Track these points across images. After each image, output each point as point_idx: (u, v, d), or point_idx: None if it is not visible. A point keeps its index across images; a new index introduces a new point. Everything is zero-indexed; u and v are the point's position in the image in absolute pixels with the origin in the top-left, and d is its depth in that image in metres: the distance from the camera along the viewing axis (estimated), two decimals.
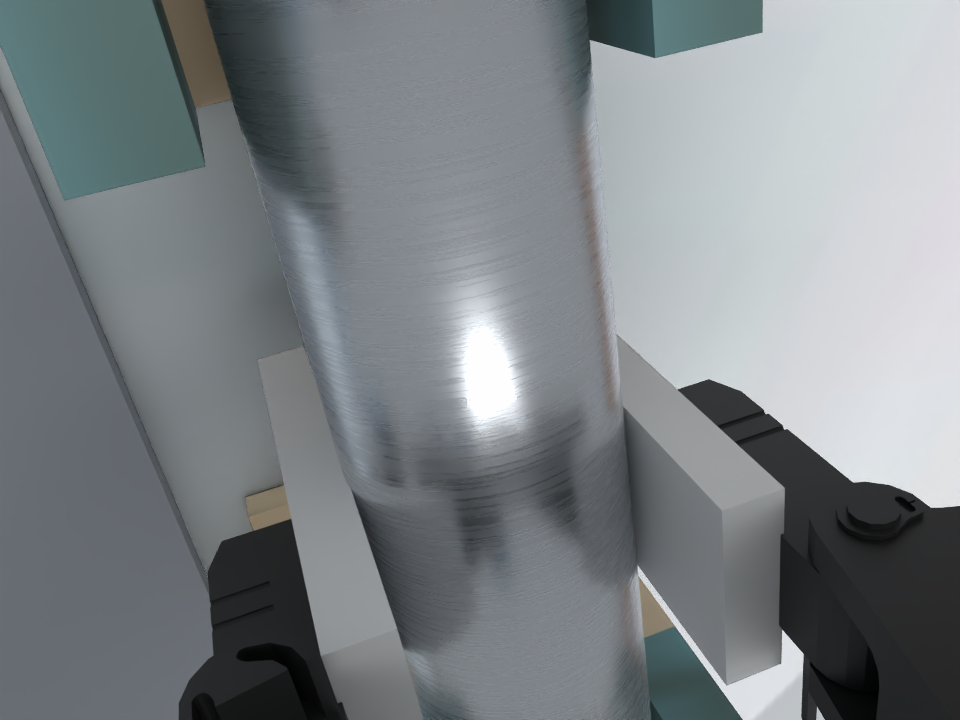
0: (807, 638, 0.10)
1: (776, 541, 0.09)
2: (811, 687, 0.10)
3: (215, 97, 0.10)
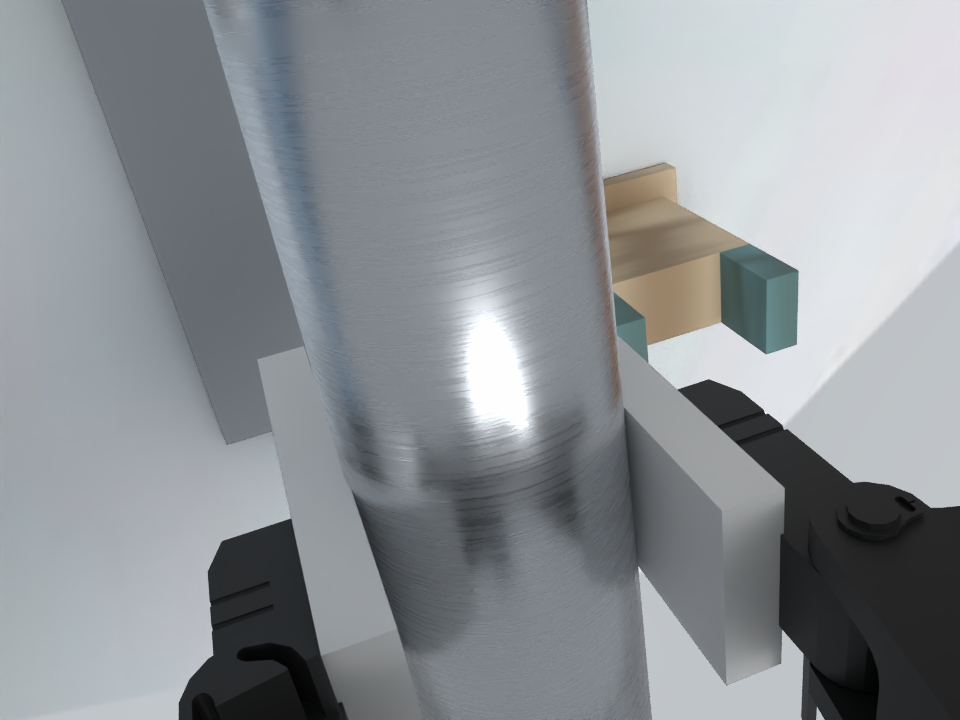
0: (807, 638, 0.10)
1: (776, 541, 0.09)
2: (811, 687, 0.10)
3: None
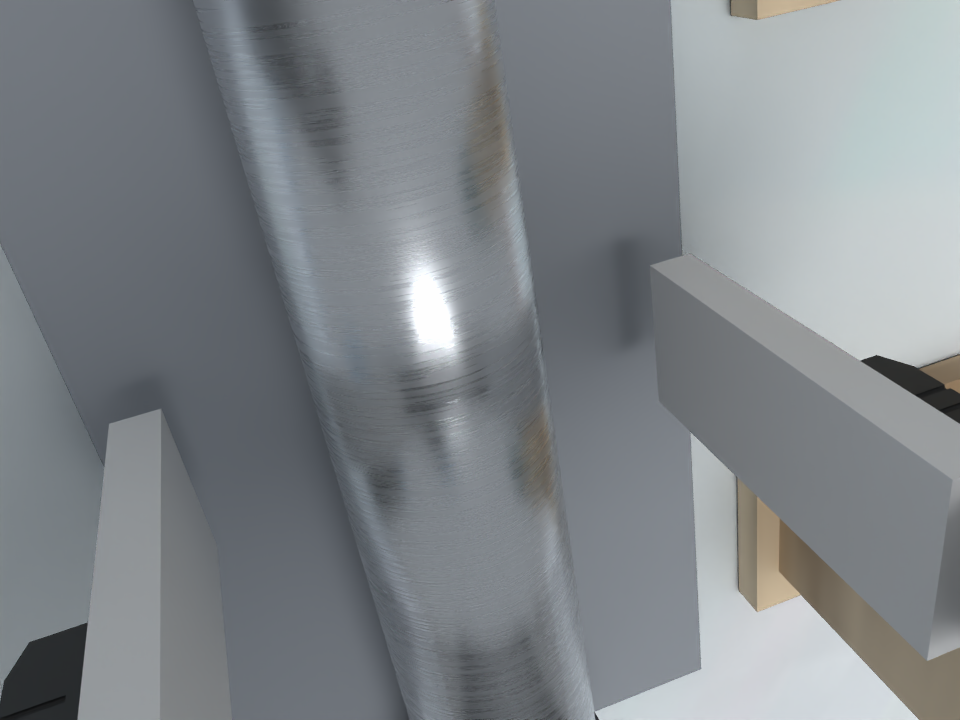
0: None
1: None
2: None
3: None
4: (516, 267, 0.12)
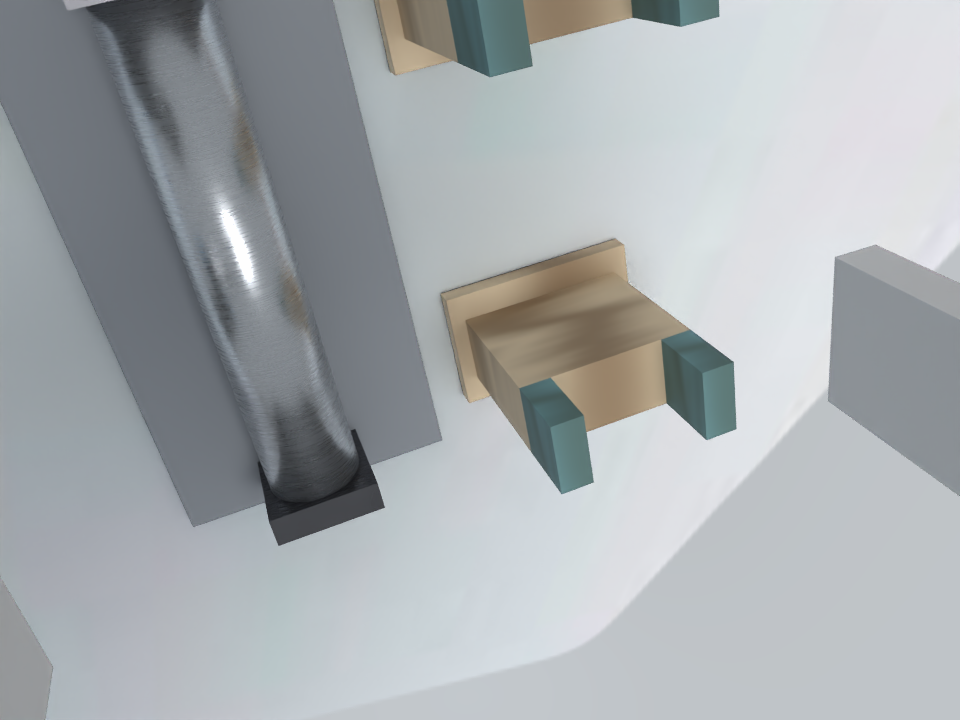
0: None
1: None
2: None
3: None
4: (258, 189, 0.28)
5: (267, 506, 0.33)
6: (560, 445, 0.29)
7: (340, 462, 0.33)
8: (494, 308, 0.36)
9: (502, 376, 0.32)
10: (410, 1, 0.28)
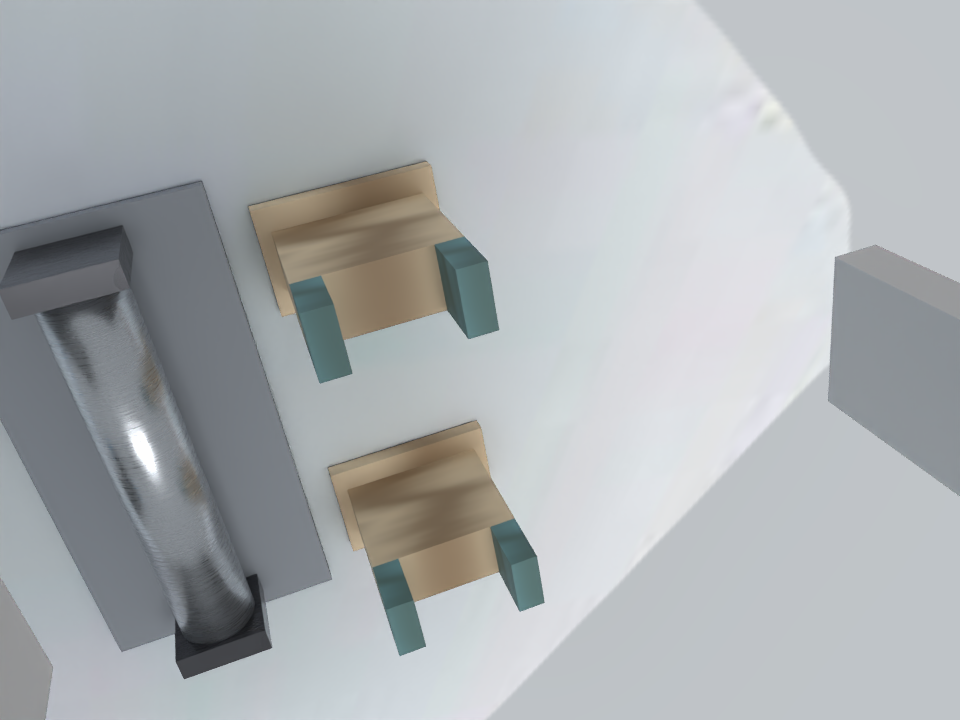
0: None
1: None
2: None
3: (345, 338, 0.33)
4: (163, 422, 0.36)
5: (176, 646, 0.41)
6: (395, 621, 0.37)
7: (235, 613, 0.41)
8: (372, 479, 0.44)
9: None
10: (285, 279, 0.36)
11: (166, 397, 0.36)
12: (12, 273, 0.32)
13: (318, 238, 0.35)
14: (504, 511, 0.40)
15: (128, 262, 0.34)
